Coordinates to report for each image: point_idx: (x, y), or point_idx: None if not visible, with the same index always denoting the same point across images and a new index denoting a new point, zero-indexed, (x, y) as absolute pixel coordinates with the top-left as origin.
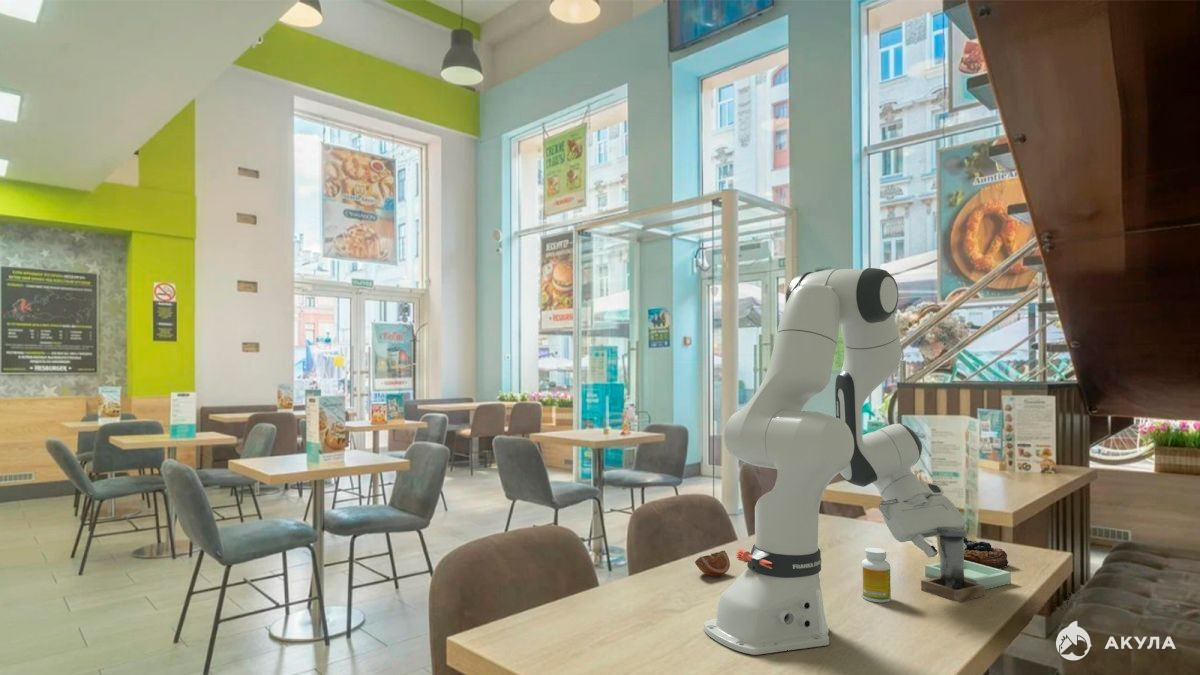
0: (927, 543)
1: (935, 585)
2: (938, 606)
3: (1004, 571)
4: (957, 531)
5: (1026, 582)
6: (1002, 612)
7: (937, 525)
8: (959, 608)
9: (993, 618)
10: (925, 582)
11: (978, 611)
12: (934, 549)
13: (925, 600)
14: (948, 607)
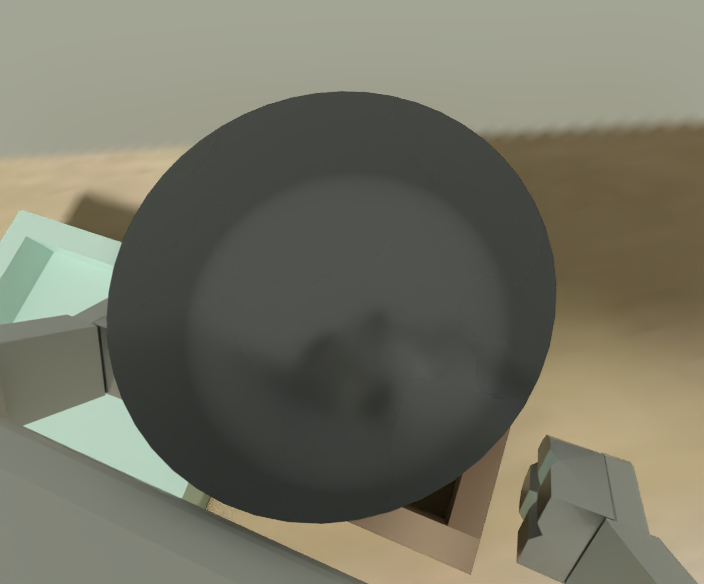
0: (654, 561)
1: (498, 463)
2: (687, 390)
3: (18, 233)
4: (377, 177)
5: (9, 195)
6: (517, 155)
7: (178, 551)
8: (623, 301)
9: (635, 158)
10: (479, 538)
11: (591, 226)
12: (581, 467)
13: (644, 480)
14: (656, 346)
